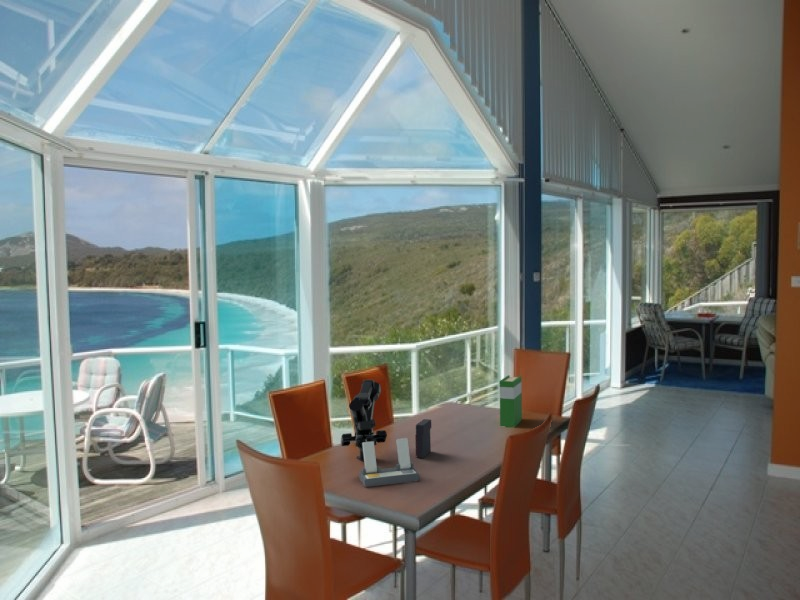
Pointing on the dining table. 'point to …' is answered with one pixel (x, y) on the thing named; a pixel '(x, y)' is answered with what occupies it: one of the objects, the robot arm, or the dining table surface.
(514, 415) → the hardback book
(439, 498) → the dining table surface
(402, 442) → the lever slate
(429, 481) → the dining table surface
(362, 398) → the robot arm
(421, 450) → the dark gray upright box
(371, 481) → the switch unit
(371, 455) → the white switch lever
